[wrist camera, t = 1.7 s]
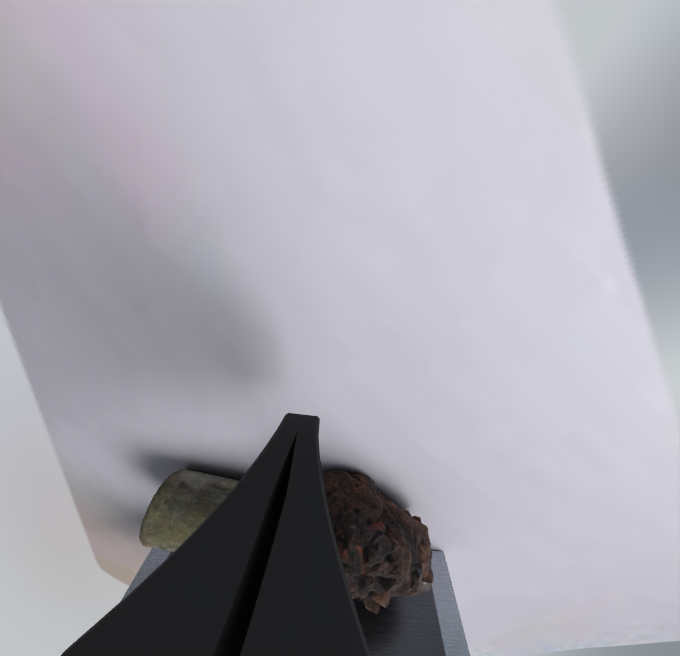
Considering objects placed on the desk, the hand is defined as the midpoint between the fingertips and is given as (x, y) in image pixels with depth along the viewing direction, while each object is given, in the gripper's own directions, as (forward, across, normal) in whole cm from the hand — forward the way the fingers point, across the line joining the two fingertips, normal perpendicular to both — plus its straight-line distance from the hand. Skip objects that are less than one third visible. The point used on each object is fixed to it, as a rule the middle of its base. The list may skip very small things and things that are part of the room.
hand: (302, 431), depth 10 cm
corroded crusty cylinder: (+3, 0, +10) cm, 11 cm away
